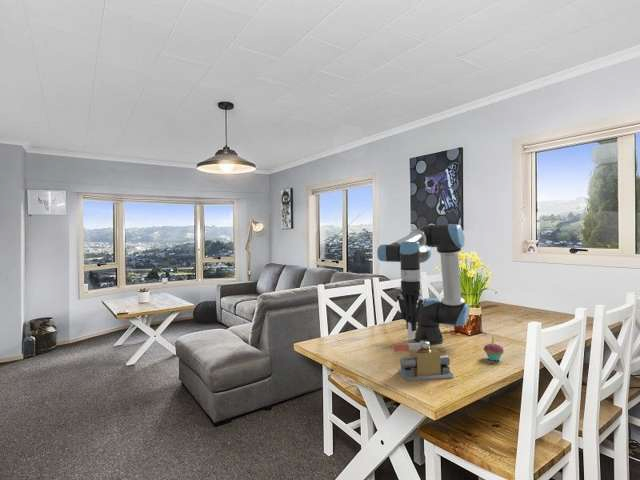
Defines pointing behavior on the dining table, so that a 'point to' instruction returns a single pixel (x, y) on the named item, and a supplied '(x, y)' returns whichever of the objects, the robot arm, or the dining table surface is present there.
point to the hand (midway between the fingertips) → (411, 338)
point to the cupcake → (493, 351)
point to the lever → (412, 346)
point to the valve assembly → (425, 365)
